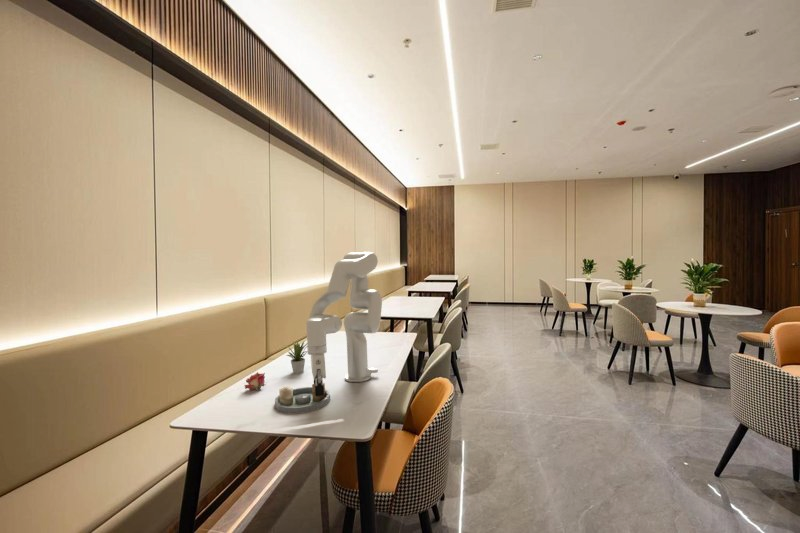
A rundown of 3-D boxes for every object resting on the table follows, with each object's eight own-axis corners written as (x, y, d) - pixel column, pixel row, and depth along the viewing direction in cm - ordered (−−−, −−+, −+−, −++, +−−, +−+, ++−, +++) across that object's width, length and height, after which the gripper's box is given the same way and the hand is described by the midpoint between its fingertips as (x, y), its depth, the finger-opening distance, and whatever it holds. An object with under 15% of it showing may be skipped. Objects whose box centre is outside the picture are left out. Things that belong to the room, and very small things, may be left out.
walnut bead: (324, 396, 147) (324, 381, 147) (325, 400, 143) (325, 385, 142) (312, 397, 146) (311, 383, 146) (313, 402, 141) (312, 387, 141)
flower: (274, 384, 161) (267, 368, 164) (260, 387, 153) (253, 370, 155) (258, 395, 163) (252, 379, 166) (243, 399, 155) (237, 382, 157)
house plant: (320, 369, 186) (319, 338, 185) (300, 378, 174) (298, 344, 174) (301, 366, 193) (300, 336, 193) (280, 373, 182) (279, 341, 181)
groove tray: (327, 391, 156) (327, 384, 156) (332, 410, 135) (332, 402, 135) (276, 398, 150) (276, 391, 150) (273, 419, 130) (273, 411, 129)
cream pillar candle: (293, 400, 144) (292, 385, 144) (293, 405, 139) (292, 390, 139) (280, 402, 142) (279, 387, 142) (279, 407, 138) (279, 392, 137)
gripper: (328, 353, 137) (330, 397, 137) (324, 343, 153) (326, 382, 154) (308, 355, 134) (310, 400, 135) (306, 345, 151) (308, 385, 152)
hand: (318, 391), depth 144 cm, fingers open, 9 cm apart
